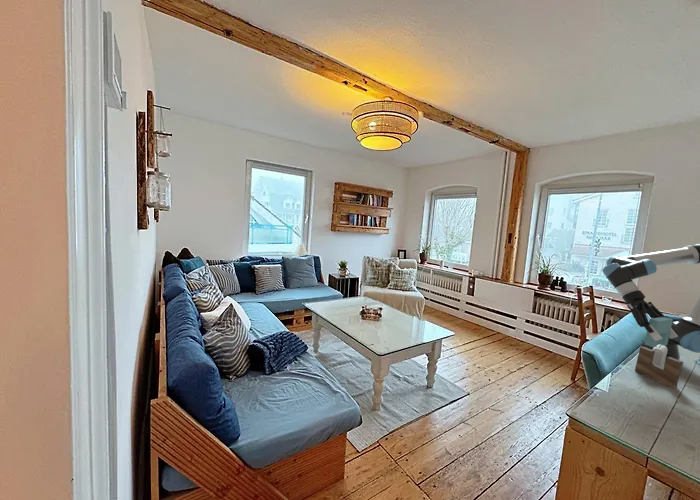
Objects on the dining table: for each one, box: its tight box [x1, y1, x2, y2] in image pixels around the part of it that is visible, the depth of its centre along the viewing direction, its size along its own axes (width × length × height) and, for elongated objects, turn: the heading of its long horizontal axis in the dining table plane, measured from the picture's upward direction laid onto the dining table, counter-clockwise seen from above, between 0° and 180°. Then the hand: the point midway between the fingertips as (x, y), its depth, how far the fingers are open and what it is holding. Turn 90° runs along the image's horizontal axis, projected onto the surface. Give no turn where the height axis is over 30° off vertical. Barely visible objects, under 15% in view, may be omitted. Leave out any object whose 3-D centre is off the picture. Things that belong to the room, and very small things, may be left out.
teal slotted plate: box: [644, 317, 673, 347], centre depth 132 cm, size 10×3×12 cm, turn 108°
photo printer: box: [652, 344, 668, 368], centre depth 145 cm, size 10×4×12 cm, turn 123°
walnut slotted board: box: [634, 346, 684, 389], centre depth 136 cm, size 2×14×12 cm, turn 17°
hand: (666, 338), depth 130 cm, fingers closed on teal slotted plate, 10 cm apart
